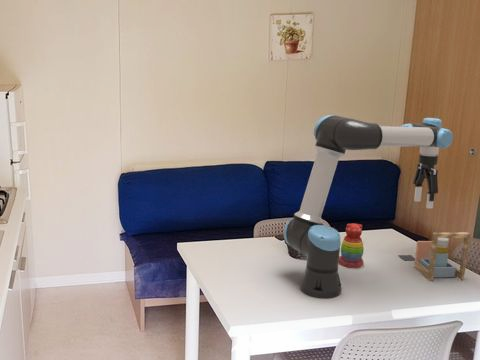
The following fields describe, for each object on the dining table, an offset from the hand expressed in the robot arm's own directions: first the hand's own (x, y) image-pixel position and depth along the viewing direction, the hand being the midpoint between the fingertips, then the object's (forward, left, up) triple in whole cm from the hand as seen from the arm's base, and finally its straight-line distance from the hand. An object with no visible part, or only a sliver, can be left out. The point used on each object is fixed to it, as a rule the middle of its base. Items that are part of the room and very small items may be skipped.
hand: (423, 204), depth 237 cm
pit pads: (0, -1, -24) cm, 24 cm away
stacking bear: (-33, +5, -24) cm, 42 cm away
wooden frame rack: (-7, -18, -24) cm, 31 cm away
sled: (-5, -13, -24) cm, 28 cm away
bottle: (-6, -17, -24) cm, 30 cm away
